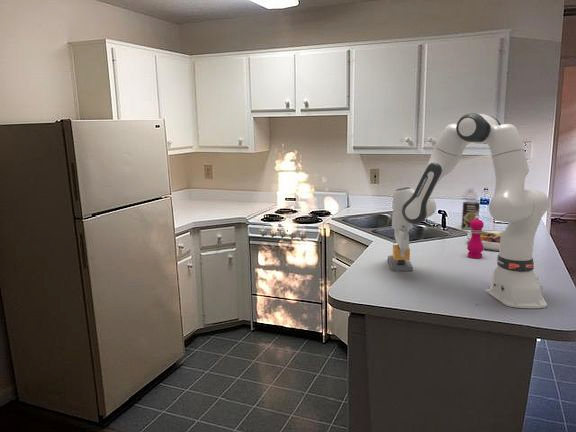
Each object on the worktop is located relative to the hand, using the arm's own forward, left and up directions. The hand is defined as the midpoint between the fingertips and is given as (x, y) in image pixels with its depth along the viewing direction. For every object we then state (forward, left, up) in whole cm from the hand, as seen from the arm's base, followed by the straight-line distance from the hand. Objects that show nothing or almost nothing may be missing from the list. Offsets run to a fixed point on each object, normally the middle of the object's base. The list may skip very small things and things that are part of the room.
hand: (401, 254), depth 206 cm
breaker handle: (0, 0, -4) cm, 4 cm away
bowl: (+42, -56, -7) cm, 70 cm away
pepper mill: (+19, -38, -7) cm, 43 cm away
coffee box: (+80, -52, -7) cm, 96 cm away
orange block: (0, 0, -2) cm, 2 cm away
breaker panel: (+4, 0, -6) cm, 7 cm away
